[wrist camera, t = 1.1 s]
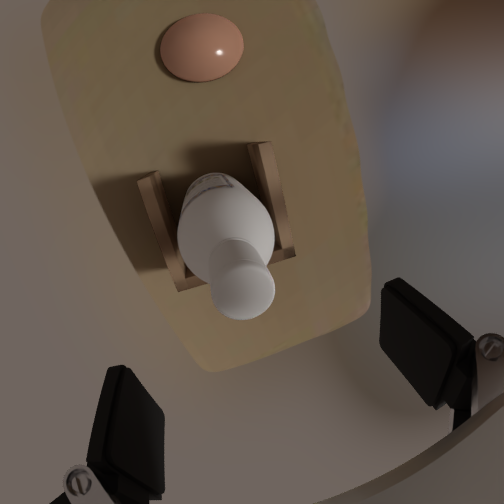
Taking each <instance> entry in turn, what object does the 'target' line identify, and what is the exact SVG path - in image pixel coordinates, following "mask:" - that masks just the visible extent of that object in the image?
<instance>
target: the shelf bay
mask: <svg viewBox="0 0 504 504" xmlns="http://www.w3.org/2000/svg"><path fill="white" fill-rule="evenodd" d="M247 147H248V151H249V155H250V159H251V163H252V167H253V171H254V175H255V179H256V183H257V187H258V191H259V196H260V200H261V202H262V204H263V205H264V206H265V208H266V210H267V211H268V213H269V215H270V218H271V220H272V224H273V228H274V238H275V239H274V248H273V252H272V255H271V258H270V260H269V262H268V264H267V265H269V264H272V263H276V262H279V261H282V260H285V259H288V258H292V257H295V256H296V255H295V250H294V245H293V239H292V234H291V229H290V224H289V220H288V215H287V210H286V205H285V200H284V196H283V191H282V187H281V182H280V178H279V173H278V169H277V164H276V160H275V156H274V151H273V147H272V143H271V141H269V142H255V143H251V144H247ZM137 184H138V187H139V190H140V193H141V196H142V199H143V202H144V205H145V208H146V211H147V214H148V216H149V219H150V222H151V225H152V228H153V230H154V233H155V236H156V238H157V241H158V244H159V246H160V249H161V251H162V254H163V257H164V259H165V262H166V264H167V267H168V269H169V271H170V274H171V276H172V279H173V281H174V284H175V286H176V288H177V291H178V292H180V291H183V290H187V289H190V288H194V287H197V286H200V285H204V284H207V282H205V281H203V280H201V279H200V278H198V277H197V276H196V275H195V274H194V273H193V272H192V271H191V270H190V269H189V268H188V267H187V265H186V264H185V262H184V260H183V258H182V256H181V253H180V250H179V246H178V240H177V227H176V224H175V221H174V218H173V215H172V212H171V209H170V206H169V203H168V200H167V197H166V193H165V190H164V187H163V184H162V181H161V178H160V174H159V171H156V172H153V173H150V174H148V175H146V176H144V177H143V178H141V179H139V180H138V181H137Z"/></svg>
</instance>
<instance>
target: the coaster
mask: <svg viewBox="0 0 504 504" xmlns="http://www.w3.org/2000/svg"><path fill="white" fill-rule="evenodd" d="M243 47H244V44H243V37H242V35H241V33H240V31H239V29H238V28H237V27H236V26H235V25H234V24H233V23H232V22H231V21H229V20H228V19H226V18H224V17H222V16H219V15H215V14H207V13H202V14H194V15H190V16H187V17H185V18H183V19H181V20H179V21H177V22H176V23H174V24H173V25H172V26H171V27H170V28H169V29H168V30H167V32H166V33H165V35H164V37H163V39H162V42H161V47H160V53H161V58H162V61H163V63H164V65H165V66H166V68H167V69H168V70H169V71H170V72H171V73H172V74H173V75H175V76H176V77H178V78H180V79H183V80H186V81H190V82H208V81H213V80H216V79H218V78H221V77H223V76H224V75H226V74H227V73H229V72H230V71H231V70H232V69H233V68H234V67H235V66H236V65H237V63H238V62H239V60H240V58H241V56H242V53H243Z"/></svg>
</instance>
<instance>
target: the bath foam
mask: <svg viewBox="0 0 504 504" xmlns="http://www.w3.org/2000/svg"><path fill="white" fill-rule="evenodd" d="M274 239H275V238H274V228H273V224H272V220H271V218H270V215H269V213H268V211H267V210H266V208H265V206H264V205H263V204H262V202H261V201H260V200H259V199H258V198H257V197H255V196H254V195H253V194H252V193H251V192H250V191H249V190H248V189H247V188H246V187H244V186H243V185H242V184H241V183H240V182H238V181H237V180H236V179H235V178H233V177H232V176H230V175H227V174H224V173H209V174H205V175H203V176H201V177H199V178H198V179H196V180H195V181H194V182H193V183H192V184H191V185H190V187H189V188H188V190H187V192H186V195H185V198H184V202H183V206H182V211H181V215H180V219H179V223H178V229H177V240H178V246H179V250H180V253H181V256H182V258H183V260H184V262H185V264H186V265H187V267H188V268H189V269H190V270H191V271H192V272H193V273H194V274H195V275H196V276H197V277H198V278H200V279H201V280H203V281H205V282H207V283H209V284H210V287H211V296H212V300H213V303H214V305H215V307H216V308H217V309H218V311H219V312H220V313H222V314H223V315H224V316H226V317H228V318H231V319H236V320H246V319H251V318H254V317H256V316H258V315H260V314H262V313H263V312H264V311H265V310H266V309H267V308H268V307H269V306H270V304H271V303H272V301H273V298H274V295H275V284H274V280H273V278H272V276H271V274H270V272H269V270H268V269H267V267H266V265H267V264H268V262H269V260H270V258H271V255H272V252H273V248H274Z"/></svg>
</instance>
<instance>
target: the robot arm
mask: <svg viewBox="0 0 504 504" xmlns="http://www.w3.org/2000/svg"><path fill="white" fill-rule="evenodd" d="M473 338H474V336H472V335H471V334H470V333H469V332H468V331H467V330H465V329H464V328H463V327H462V326H461V325H460V324H458V323H457V322H456V321H455V320H454V319H452V318H451V317H450V316H449V315H448V314H446V313H445V312H444V311H442V310H441V309H440V308H439V307H438V306H436V305H435V304H434V303H433V302H431V301H430V300H429V299H428V298H426V297H425V296H424V295H422V294H421V293H420V292H418V291H417V290H416V289H415V288H413V287H412V286H411V285H409V284H408V283H407V282H405V281H404V280H403V279H401V278H396V279H393V280H391V281H388V282H386V283H385V285H384V288H383V289H382V290H381V320H380V338H379V342H380V346H381V348H382V350H383V351H384V352H385V353H386V354H387V356H388V357H389V358H390V359H391V361H392V362H393V363H394V364H395V365H396V367H397V368H398V369H399V370H400V372H401V373H402V374H403V375H404V376H405V378H406V379H407V380H408V381H409V383H410V384H411V385H412V386H413V387H414V389H415V390H416V391H417V393H418V394H419V395H420V396H421V398H422V399H423V400H424V401H425V403H426V404H427V405H428V406H433V407H434V409H435V410H438V409H439V408H440V407H442V406H443V405H445V404H446V403H447V404H448V406H449V407H450V419H449V428H448V435H447V436H446V437H444V438H443V439H441V440H440V441H438V442H437V443H435V444H434V445H433V446H431V447H430V448H428V449H427V450H425V451H423V452H422V453H420V454H419V455H417V456H416V457H414V458H412V459H411V460H409V461H407V462H406V463H404V464H402V465H400V466H399V467H397V468H395V469H393V470H391V471H389V472H387V473H385V474H384V475H382V476H380V477H378V478H376V479H374V480H371V481H369V482H367V483H365V484H363V485H361V486H358V487H356V488H354V489H352V490H349V491H347V492H344V493H342V494H340V495H337V496H334V497H331V498H329V499H326V500H323V501H320V502H317V503H314V504H504V337H502V336H501V335H498V334H495V333H488V334H484V335H482V336H480V337H479V339H478V340H477V342H476V341H475V340H474V339H473ZM164 426H165V417H164V413H163V411H162V409H161V408H160V407H159V406H158V405H157V403H156V402H155V401H154V399H153V398H152V397H151V396H150V394H149V393H148V392H147V390H146V389H145V388H144V386H142V384H141V382H140V381H139V380H138V378H137V377H136V376H135V374H134V373H133V372H132V370H131V369H130V368H126V366H124V365H118V366H113V367H109V368H108V370H107V373H106V376H105V380H104V383H103V387H102V391H101V395H100V398H99V402H98V406H97V411H96V415H95V419H94V423H93V428H92V432H91V438H90V442H89V447H88V453H87V458H86V461H87V466H84V465H75V466H73V467H71V468H70V469H69V470H68V471H67V472H66V474H65V475H64V479H63V487H64V491H65V492H64V493H62V494H61V495H60V496H59V497H58V498H56V499H55V500H54V501H52V502H51V503H50V504H149V500H162V495H161V494H163V493H164V491H165V477H164Z"/></svg>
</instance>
